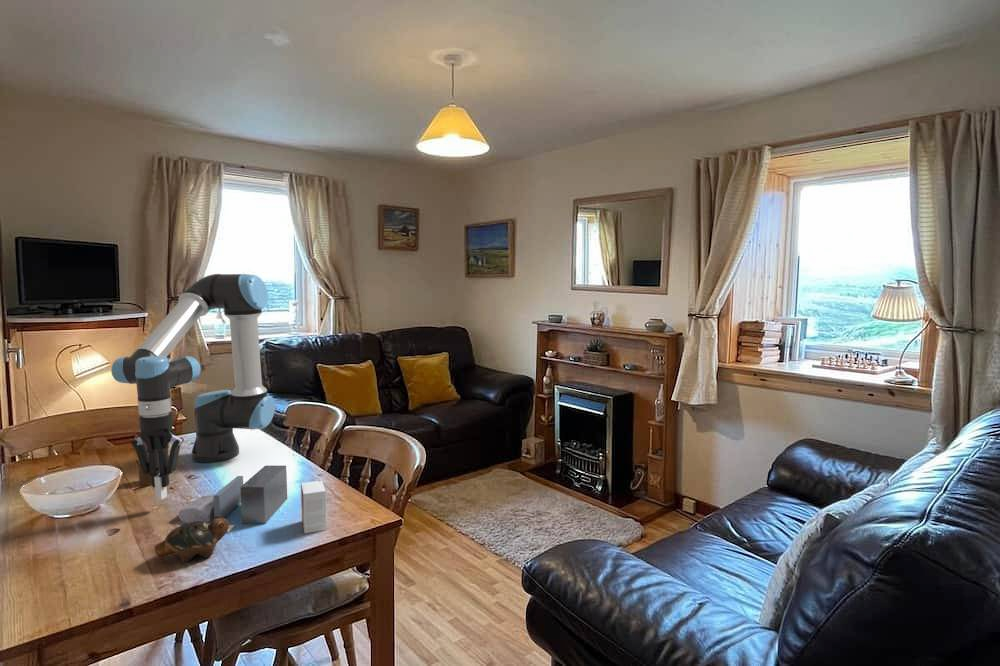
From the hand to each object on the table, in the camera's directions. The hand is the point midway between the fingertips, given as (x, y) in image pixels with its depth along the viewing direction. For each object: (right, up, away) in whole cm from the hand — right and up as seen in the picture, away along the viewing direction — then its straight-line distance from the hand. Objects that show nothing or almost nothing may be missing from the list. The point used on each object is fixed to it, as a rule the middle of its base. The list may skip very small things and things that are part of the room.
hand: (161, 497), depth 150 cm
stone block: (+12, -4, -1) cm, 13 cm away
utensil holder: (-16, -2, +21) cm, 26 cm away
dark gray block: (+28, -4, +1) cm, 29 cm away
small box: (+45, -5, -8) cm, 46 cm away
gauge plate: (+19, -4, -2) cm, 19 cm away
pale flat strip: (+19, -5, -10) cm, 23 cm away
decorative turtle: (+22, -7, -23) cm, 33 cm away
